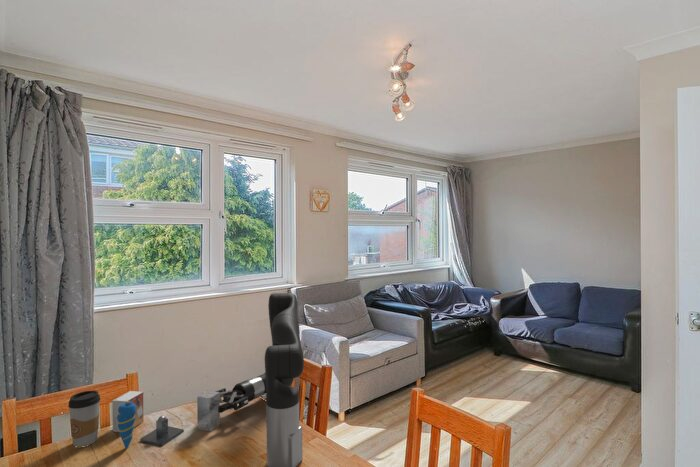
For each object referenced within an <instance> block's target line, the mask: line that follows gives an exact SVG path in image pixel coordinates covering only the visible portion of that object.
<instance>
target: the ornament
mask: <svg viewBox="0 0 700 467" xmlns="http://www.w3.org/2000/svg"><path fill="white" fill-rule="evenodd" d="M118 412H119V414H118V416H117V420H118V422H119V424H118V427H119V429H120V432H119V437H120V438H121V441H122V443H123V446H124V448H125V449H128V448H129V446H130V444H131V442H132V439H133V436H134V434H133V433H134V421H135V413H136V405H135V404H134V403H132V402H129V401H126V403H124V404H122V405H120V406H119V408H118Z"/></svg>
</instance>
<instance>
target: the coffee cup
mask: <svg viewBox="0 0 700 467" xmlns="http://www.w3.org/2000/svg"><path fill="white" fill-rule="evenodd" d="M100 401H101V395H100V394H99V391H98V390H85V391H80V392H77V393H75V394H73V395H71V396H70V399H69V401H68V405H67V406H68V410H69V418H70V419H69V422H70V432H71V439H72V445H73V447H74V446H77V447H82V446H87V445H90V444H92V443H93V444H95V443H96V442H97V440H98V437H99V436H98V434H99V424H100V423H99V422H100V421H99V420H100ZM95 441H96V442H95ZM94 442H95V443H94ZM93 444H92V445H93ZM90 446H91V445H90ZM87 447H88V446H87Z"/></svg>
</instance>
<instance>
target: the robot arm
mask: <svg viewBox="0 0 700 467" xmlns="http://www.w3.org/2000/svg"><path fill="white" fill-rule="evenodd" d="M298 306H299V305H298V299H297V295H296V293H292V292H273V293H271V294H270V295H269V297H268V307H267V308H268V319H269V329H270V334H271V335H270V336H271V343H272V344H271V345H269V346H268V347H267V348H266V350H265V353H264V370H265V371H264V373H262V374H260V375H258V376H256V377H255V376H254V377H251V378H248V379H246V380H244V381H240V382H239V383H238V382H237V383H236V384H235V385H234V386H233V388H232V389H231V390H230V389H229V390H227V388H226V387H225V388H222V389H218V390H215V391H214V392H219V396H220V406H219V407H218V412H219V413H220V414H221V413H224V412H226V411H228V410H234V411H238V410H240V409H242V408H244V407H246V406H248V405H249V403H250V402H252V401H255V399H258V398H259V397H261V396H263V395H265V398H266V399H265V400H266V402H265V404H266V405H265V407H266V410H265V411H266V413H265V414H266V420H265V423H266V465H267V467H298V465H299V464H300V463H301V461H302V460H303V454H304V453H303V452H304V451H303V426H301V425H300V393H299V390H298V389H297V388H296V387H294V386H292V384H293V383H294V379H296V378H299V377H300V376H301V375H302V374H303V371H304V367H305V361H304V360H305V359H304V352H303V348H302V343H301V339H300V338H301V336H300V333H301V332H300V322H299V318H298V317H299V316H298ZM222 398H223V399H222Z"/></svg>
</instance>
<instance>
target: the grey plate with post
mask: <svg viewBox="0 0 700 467" xmlns="http://www.w3.org/2000/svg"><path fill="white" fill-rule="evenodd" d="M155 427H156V428H155V429H154V430H152V431H150V432H148V433H147V434H146V435H143V436H142V437H141V438H139V442H141V443H146V444H149V445H154V446H159V447H163V446H165V445H167V444H168V443H170V442H171V441H173V440H174V439H176V438H177V437H179V436H180V435H182V434H183V433H184V432H185V430H184V429H183V428H178V427H173V426H169V419H168V418H167V417H166V416H165V415H161V416H159V417H158V418H157V420H156V421H155Z"/></svg>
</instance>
